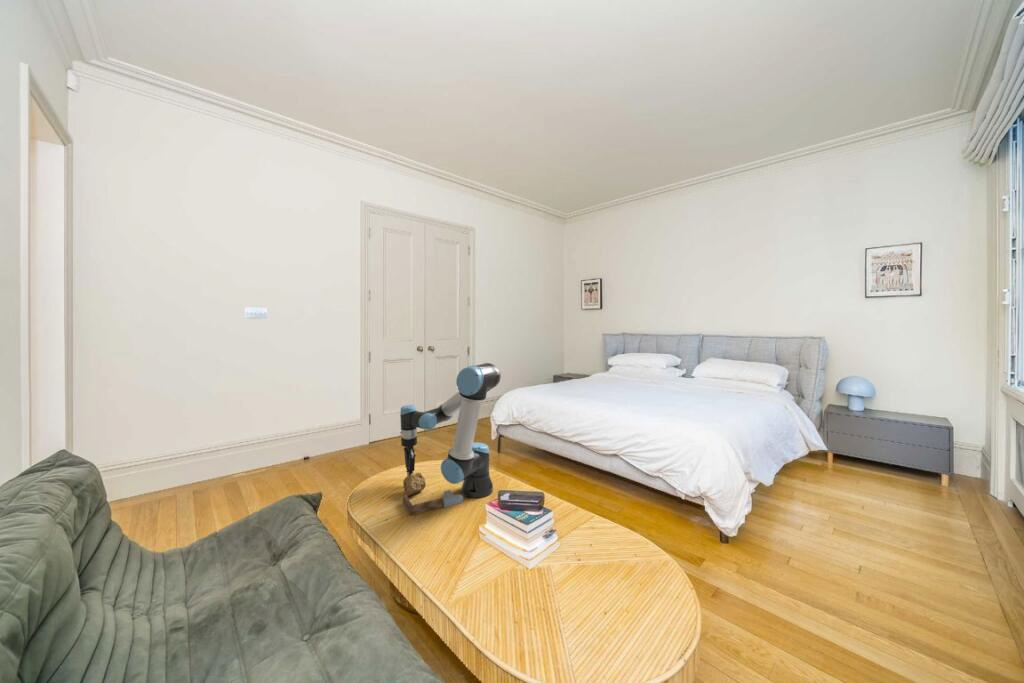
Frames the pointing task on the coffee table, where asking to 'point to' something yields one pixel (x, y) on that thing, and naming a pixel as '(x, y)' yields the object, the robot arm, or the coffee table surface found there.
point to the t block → (452, 499)
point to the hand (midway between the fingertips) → (410, 483)
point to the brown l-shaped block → (422, 505)
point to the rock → (414, 483)
